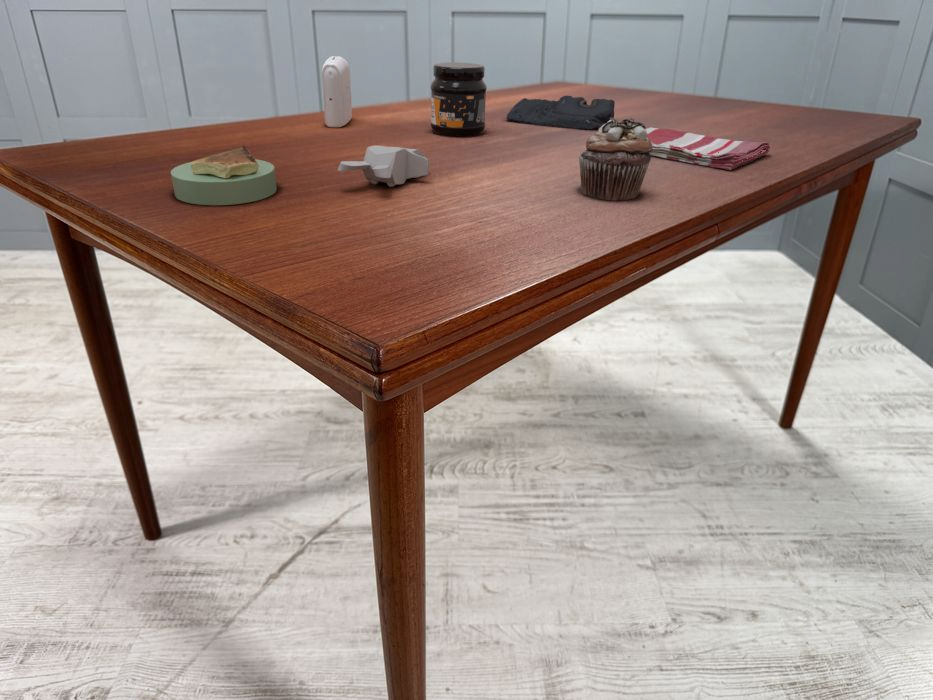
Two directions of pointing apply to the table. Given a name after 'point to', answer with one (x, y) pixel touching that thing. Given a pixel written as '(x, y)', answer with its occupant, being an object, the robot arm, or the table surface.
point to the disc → (223, 186)
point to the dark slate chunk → (563, 112)
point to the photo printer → (336, 92)
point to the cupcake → (615, 160)
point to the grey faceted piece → (389, 164)
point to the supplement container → (458, 99)
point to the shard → (226, 163)
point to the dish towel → (703, 148)
